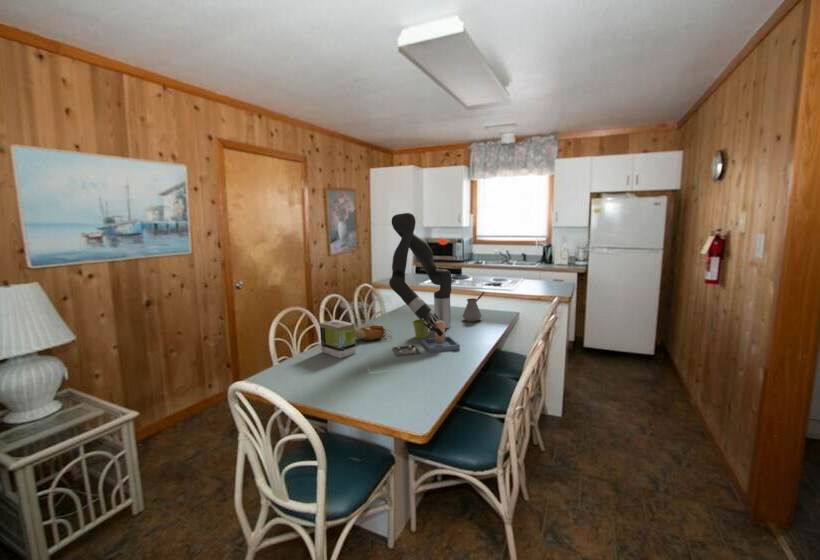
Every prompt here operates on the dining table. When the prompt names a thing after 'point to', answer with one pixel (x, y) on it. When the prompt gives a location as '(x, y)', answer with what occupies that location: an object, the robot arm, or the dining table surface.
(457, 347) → the shallow square tray
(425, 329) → the plant pot
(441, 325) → the tan rounded pillar
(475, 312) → the coffee pot
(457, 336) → the dining table surface
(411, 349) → the parts tray
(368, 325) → the nautilus
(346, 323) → the tea box
